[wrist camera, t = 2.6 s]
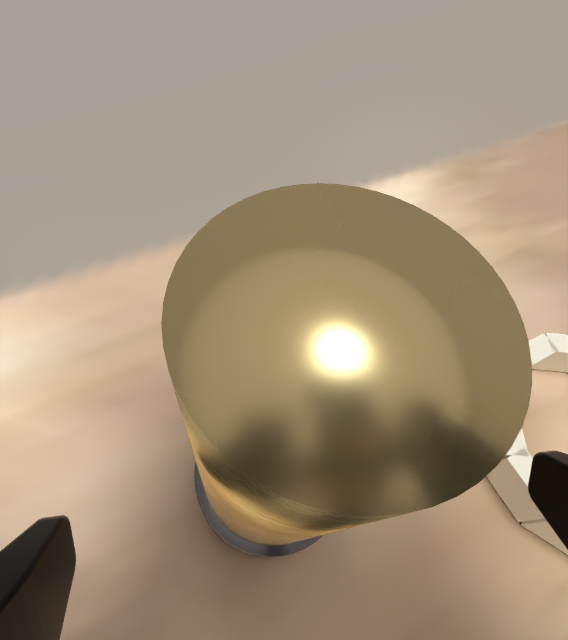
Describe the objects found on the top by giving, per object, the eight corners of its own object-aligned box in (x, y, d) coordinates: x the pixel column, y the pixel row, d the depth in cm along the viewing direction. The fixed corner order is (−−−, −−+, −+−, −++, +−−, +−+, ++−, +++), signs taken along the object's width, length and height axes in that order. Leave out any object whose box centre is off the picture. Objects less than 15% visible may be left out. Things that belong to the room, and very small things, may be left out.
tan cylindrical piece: (348, 544, 16) (639, 508, 5) (200, 568, 15) (124, 594, 4) (321, 404, 19) (465, 171, 7) (195, 417, 18) (142, 169, 6)
